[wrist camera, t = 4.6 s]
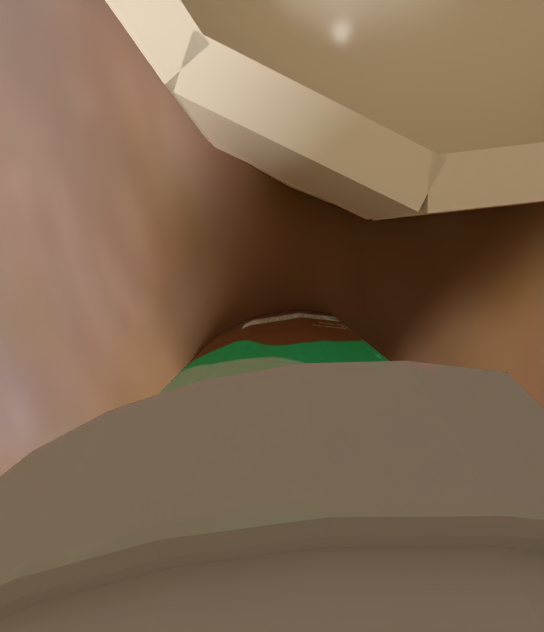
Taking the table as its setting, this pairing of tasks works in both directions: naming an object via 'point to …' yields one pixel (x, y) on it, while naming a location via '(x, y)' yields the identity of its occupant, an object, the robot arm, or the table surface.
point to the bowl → (362, 94)
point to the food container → (286, 498)
